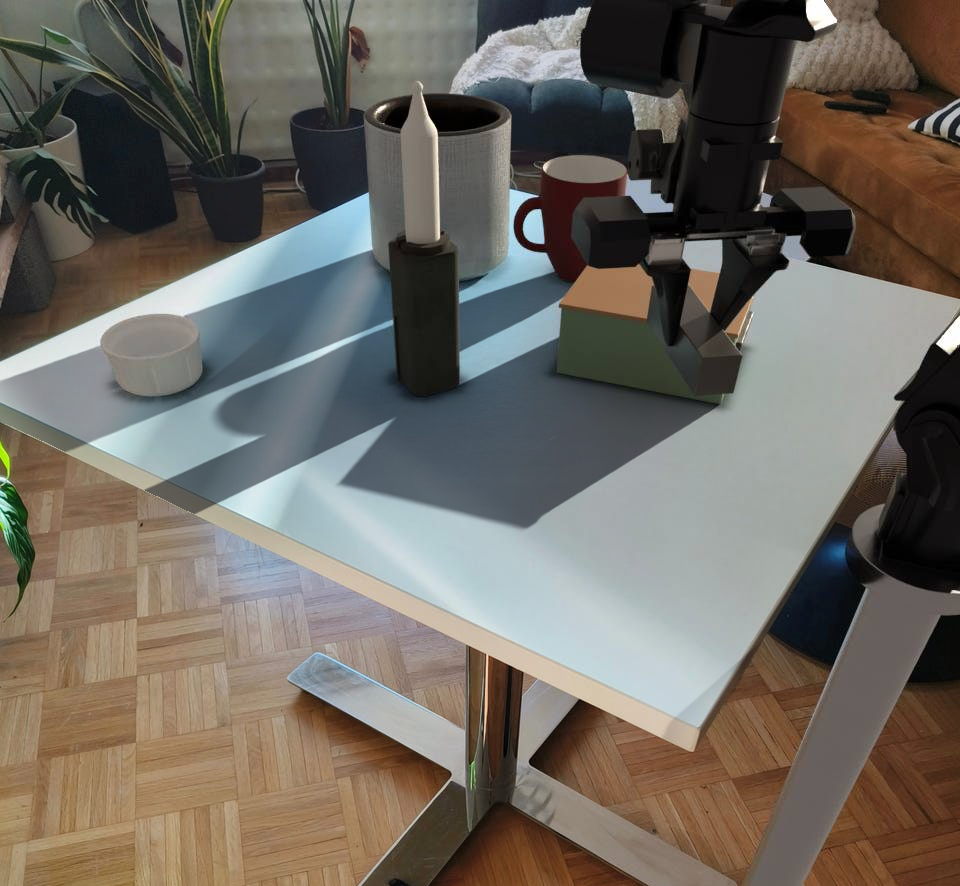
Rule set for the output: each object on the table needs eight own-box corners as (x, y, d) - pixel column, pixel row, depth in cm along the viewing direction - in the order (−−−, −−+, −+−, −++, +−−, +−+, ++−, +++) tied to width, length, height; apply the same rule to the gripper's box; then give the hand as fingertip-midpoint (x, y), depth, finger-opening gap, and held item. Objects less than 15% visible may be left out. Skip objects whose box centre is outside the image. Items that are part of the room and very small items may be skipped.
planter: (344, 264, 105) (330, 115, 94) (430, 223, 114) (426, 83, 103) (452, 300, 98) (450, 145, 87) (534, 254, 107) (541, 108, 96)
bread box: (747, 347, 91) (762, 279, 86) (725, 406, 83) (741, 335, 78) (589, 320, 95) (595, 253, 90) (553, 373, 87) (558, 303, 82)
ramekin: (222, 384, 85) (213, 340, 82) (131, 410, 81) (117, 366, 78) (188, 347, 90) (178, 305, 87) (100, 370, 87) (87, 328, 84)
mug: (525, 297, 99) (529, 188, 91) (503, 264, 105) (506, 159, 97) (627, 287, 101) (640, 179, 93) (600, 255, 107) (610, 152, 99)
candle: (464, 385, 85) (462, 84, 68) (416, 399, 83) (402, 93, 66) (439, 362, 88) (431, 69, 71) (392, 375, 86) (372, 77, 69)
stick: (646, 321, 73) (651, 284, 71) (681, 319, 73) (688, 282, 71) (694, 396, 64) (702, 358, 62) (733, 393, 65) (743, 355, 63)
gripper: (817, 75, 64) (765, 290, 75) (562, 82, 61) (547, 303, 73) (893, 121, 56) (822, 354, 67) (604, 132, 54) (580, 371, 65)
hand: (689, 342), depth 68 cm, fingers closed on stick, 3 cm apart
